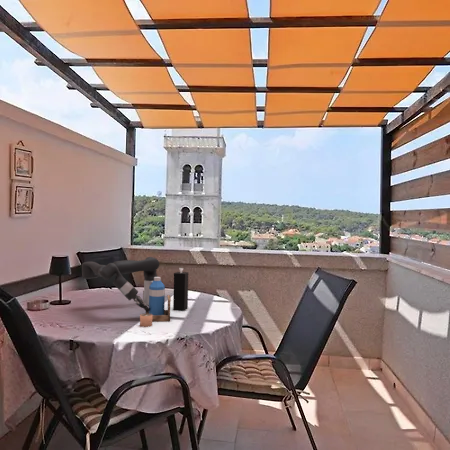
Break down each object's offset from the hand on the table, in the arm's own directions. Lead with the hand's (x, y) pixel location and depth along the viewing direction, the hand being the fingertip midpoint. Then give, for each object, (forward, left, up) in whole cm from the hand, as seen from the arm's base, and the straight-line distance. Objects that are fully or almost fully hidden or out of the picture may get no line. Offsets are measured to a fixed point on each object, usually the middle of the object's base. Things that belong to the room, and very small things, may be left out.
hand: (148, 310), depth 259 cm
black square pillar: (+1, +32, -5) cm, 32 cm away
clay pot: (+9, -12, -5) cm, 16 cm away
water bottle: (+3, +4, -5) cm, 7 cm away
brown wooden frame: (+4, +3, -5) cm, 7 cm away
